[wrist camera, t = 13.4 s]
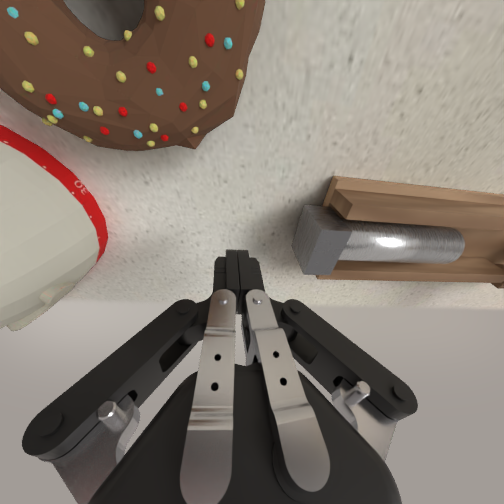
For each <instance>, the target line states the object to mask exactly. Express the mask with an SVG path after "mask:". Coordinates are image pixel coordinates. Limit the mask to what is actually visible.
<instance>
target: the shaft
mask: <svg viewBox="0 0 504 504" xmlns="http://www.w3.org/2000/svg"><path fill="white" fill-rule="evenodd" d="M464 247H465V241H464V238H463V236H462V234H461V233H460V232H459V231H458V230H456V229H454V228H452V227H444V226H430V225H416V224H402V223H389V222H375V221H361V220H348V219H341V218H340V217H339V216H338V215H337V214H336V212H335V211H334V210H333V209H332V208H331V207H328V206H316V205H304V208H303V211H302V214H301V217H300V220H299V224H298V227H297V230H296V233H295V236H294V239H293V243H292V248H293V250H294V253H295V255H296V258H297V260H298V262H299V265H300V267H301V269H302V272H303V274H304V275H331V273H332V271H333V269H334V267H335V265H336V263H337V261H338V260H347V261H374V262H401V263H428V264H448V263H451V262H453V261H455V260H457V259H458V258H459V257H460V256H461V254H462V253H463V251H464Z"/></svg>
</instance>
